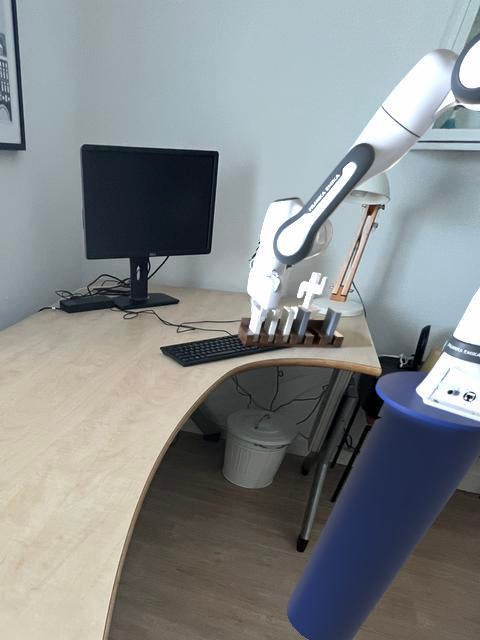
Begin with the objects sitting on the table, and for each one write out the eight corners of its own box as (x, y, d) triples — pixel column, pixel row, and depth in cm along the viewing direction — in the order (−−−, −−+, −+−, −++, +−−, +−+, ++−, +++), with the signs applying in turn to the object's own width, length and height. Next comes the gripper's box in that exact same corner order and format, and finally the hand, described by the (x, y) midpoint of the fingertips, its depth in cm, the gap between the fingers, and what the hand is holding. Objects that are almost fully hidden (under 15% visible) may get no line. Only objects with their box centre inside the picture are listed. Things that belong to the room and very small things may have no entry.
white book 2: (272, 342, 135) (280, 311, 129) (267, 342, 135) (275, 311, 129) (266, 335, 140) (274, 305, 134) (261, 335, 140) (269, 305, 134)
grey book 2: (330, 343, 135) (341, 312, 129) (325, 343, 135) (336, 312, 129) (323, 336, 140) (333, 307, 134) (318, 336, 140) (328, 307, 134)
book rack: (340, 347, 134) (347, 328, 131) (244, 345, 134) (249, 326, 131) (328, 338, 141) (335, 319, 138) (237, 336, 141) (241, 317, 137)
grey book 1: (301, 342, 135) (311, 312, 129) (296, 342, 135) (305, 311, 129) (294, 336, 140) (303, 306, 134) (289, 336, 140) (298, 306, 134)
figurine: (298, 314, 162) (312, 269, 152) (320, 320, 156) (335, 274, 146) (285, 316, 159) (298, 270, 149) (307, 323, 153) (322, 276, 143)
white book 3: (286, 342, 135) (295, 311, 129) (281, 342, 135) (290, 311, 129) (280, 336, 140) (289, 306, 134) (275, 335, 140) (284, 306, 134)
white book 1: (257, 341, 135) (264, 311, 129) (252, 341, 135) (259, 311, 129) (252, 335, 140) (259, 305, 134) (247, 335, 140) (253, 305, 134)
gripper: (293, 274, 116) (278, 328, 125) (269, 260, 132) (258, 308, 141) (269, 274, 116) (256, 327, 125) (249, 259, 132) (238, 307, 141)
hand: (257, 317), depth 133 cm, fingers closed on white book 1, 6 cm apart
